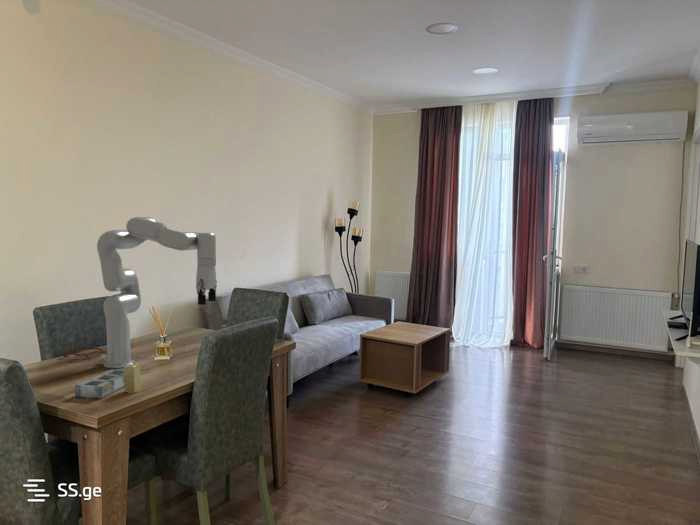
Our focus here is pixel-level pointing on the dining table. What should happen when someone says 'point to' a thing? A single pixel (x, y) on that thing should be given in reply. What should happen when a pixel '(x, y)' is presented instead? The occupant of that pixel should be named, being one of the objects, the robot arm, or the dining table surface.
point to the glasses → (78, 350)
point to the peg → (132, 378)
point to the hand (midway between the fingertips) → (207, 302)
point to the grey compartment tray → (101, 385)
